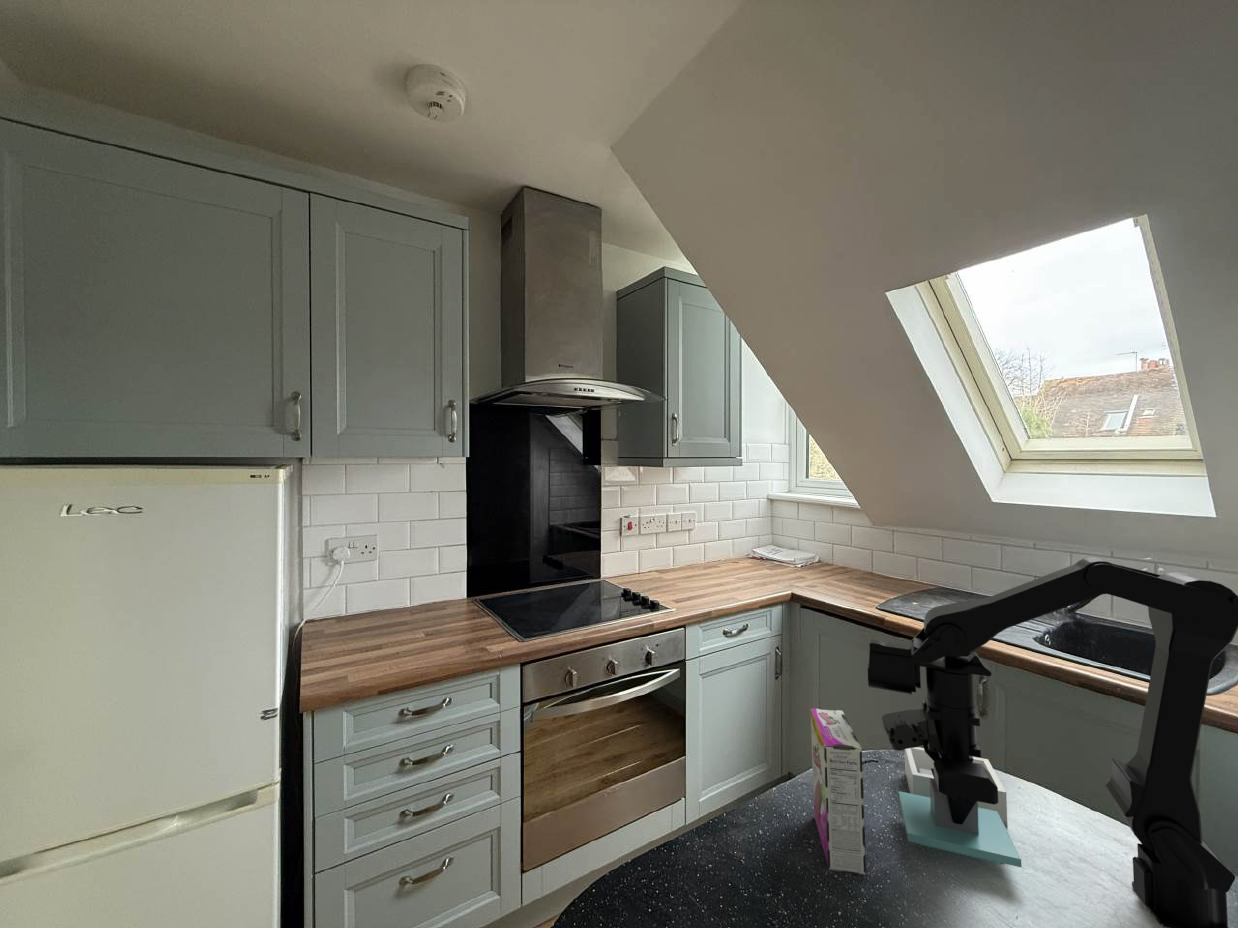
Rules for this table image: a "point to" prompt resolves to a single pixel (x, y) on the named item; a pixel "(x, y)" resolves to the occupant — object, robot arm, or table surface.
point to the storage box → (921, 773)
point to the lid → (956, 828)
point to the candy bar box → (838, 791)
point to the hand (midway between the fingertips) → (954, 814)
